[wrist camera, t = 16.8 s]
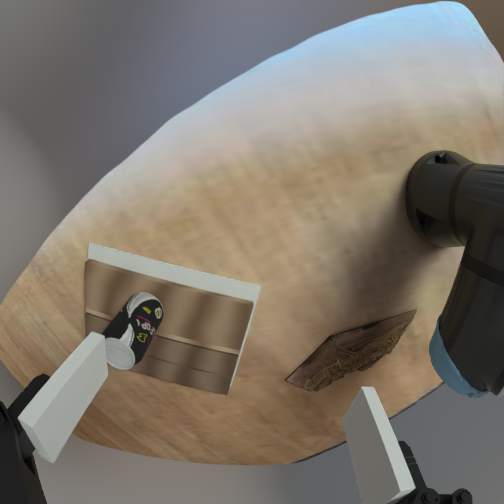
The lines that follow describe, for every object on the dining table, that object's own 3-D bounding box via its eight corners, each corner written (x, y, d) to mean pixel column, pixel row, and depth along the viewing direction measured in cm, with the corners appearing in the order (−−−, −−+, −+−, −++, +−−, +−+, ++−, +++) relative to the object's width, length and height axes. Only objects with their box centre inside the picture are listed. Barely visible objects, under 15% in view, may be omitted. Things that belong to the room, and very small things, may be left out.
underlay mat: (261, 285, 41) (261, 286, 40) (231, 385, 46) (231, 386, 46) (89, 242, 39) (88, 242, 38) (89, 345, 44) (89, 345, 44)
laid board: (238, 351, 44) (238, 357, 42) (227, 389, 46) (226, 395, 44) (89, 309, 42) (85, 313, 40) (91, 350, 44) (88, 354, 42)
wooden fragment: (297, 397, 48) (298, 401, 47) (272, 359, 45) (273, 362, 44) (420, 336, 45) (422, 339, 44) (410, 290, 42) (413, 292, 41)
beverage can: (137, 282, 38) (100, 325, 27) (171, 302, 39) (145, 352, 28) (125, 311, 40) (91, 357, 28) (157, 329, 41) (131, 381, 29)
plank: (253, 301, 41) (253, 306, 39) (239, 349, 43) (238, 355, 42) (89, 258, 39) (85, 261, 37) (89, 307, 41) (85, 312, 40)
